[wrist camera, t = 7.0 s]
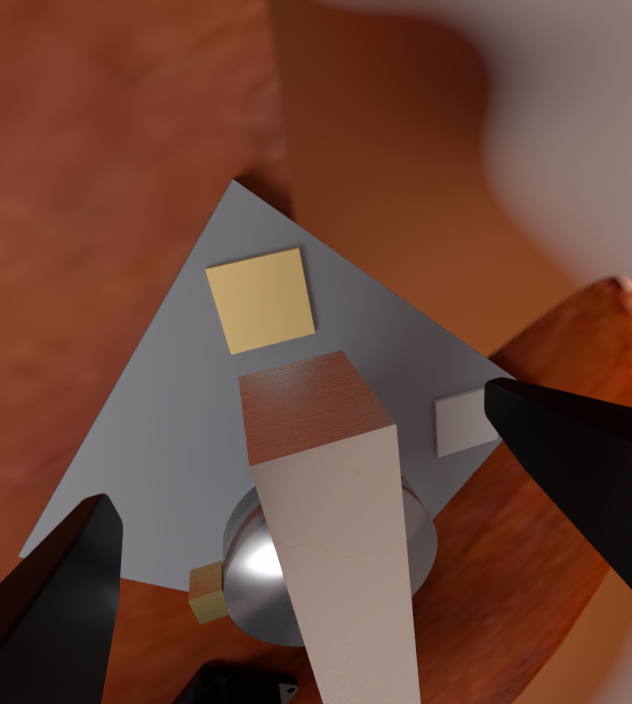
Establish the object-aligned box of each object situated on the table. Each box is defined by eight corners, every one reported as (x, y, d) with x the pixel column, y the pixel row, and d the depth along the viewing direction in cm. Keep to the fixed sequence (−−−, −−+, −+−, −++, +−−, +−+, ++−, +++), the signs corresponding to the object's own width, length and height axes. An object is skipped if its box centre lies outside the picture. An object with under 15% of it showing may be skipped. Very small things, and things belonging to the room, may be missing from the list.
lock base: (338, 609, 22) (360, 686, 19) (27, 539, 16) (-25, 639, 12) (528, 387, 19) (597, 435, 15) (231, 178, 12) (239, 180, 9)
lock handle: (423, 624, 17) (488, 762, 13) (249, 688, 16) (261, 861, 12) (401, 307, 11) (517, 388, 7) (105, 380, 10) (24, 532, 5)
